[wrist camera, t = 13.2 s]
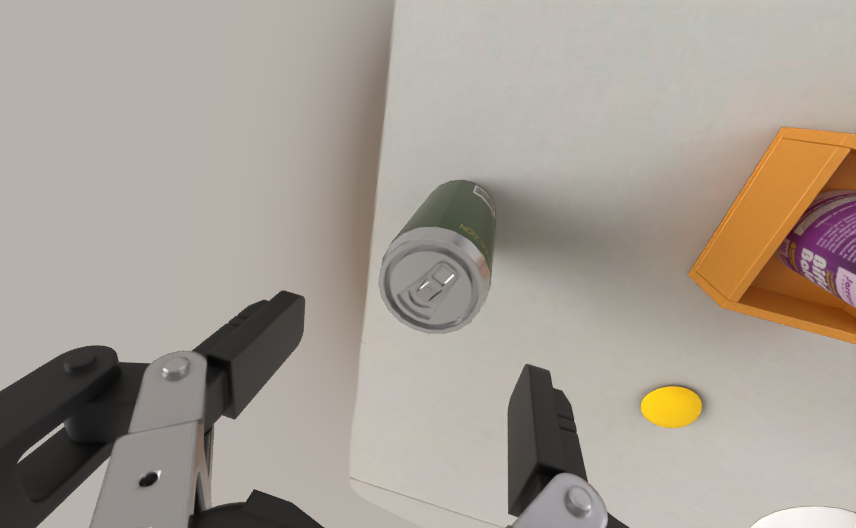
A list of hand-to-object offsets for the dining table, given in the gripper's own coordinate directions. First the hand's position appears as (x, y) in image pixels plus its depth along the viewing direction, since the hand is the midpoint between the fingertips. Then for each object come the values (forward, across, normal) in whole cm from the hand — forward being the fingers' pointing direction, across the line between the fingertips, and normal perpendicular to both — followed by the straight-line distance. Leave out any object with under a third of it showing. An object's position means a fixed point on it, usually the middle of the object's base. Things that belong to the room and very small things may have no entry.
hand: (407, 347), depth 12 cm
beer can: (+16, 0, 0) cm, 16 cm away
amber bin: (+16, -22, -5) cm, 28 cm away
